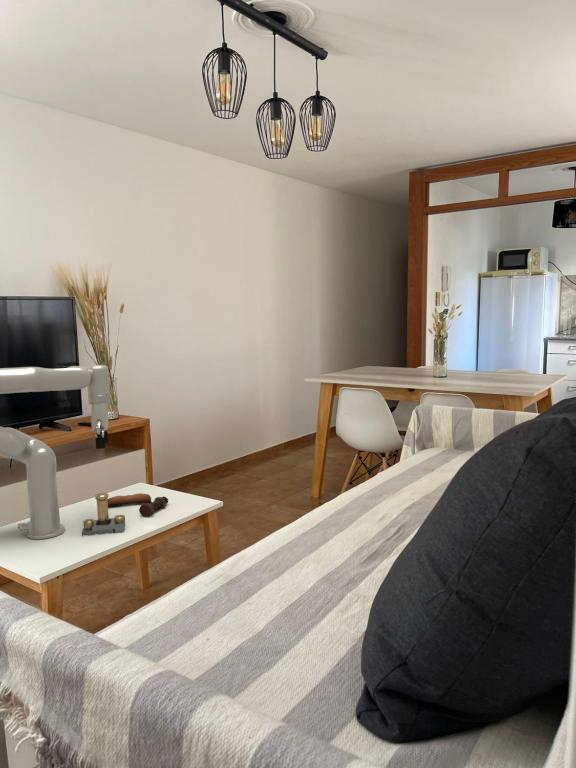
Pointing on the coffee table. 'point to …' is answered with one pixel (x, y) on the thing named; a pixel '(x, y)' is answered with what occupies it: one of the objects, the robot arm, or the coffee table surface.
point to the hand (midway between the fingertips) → (102, 445)
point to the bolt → (152, 506)
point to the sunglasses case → (129, 499)
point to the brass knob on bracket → (104, 526)
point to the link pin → (102, 508)
